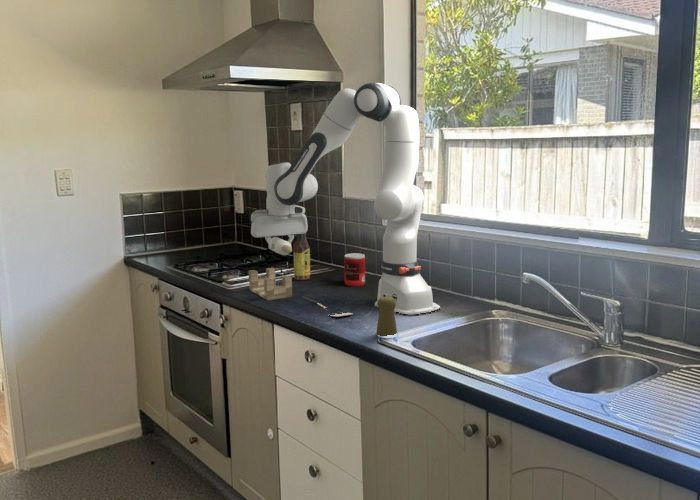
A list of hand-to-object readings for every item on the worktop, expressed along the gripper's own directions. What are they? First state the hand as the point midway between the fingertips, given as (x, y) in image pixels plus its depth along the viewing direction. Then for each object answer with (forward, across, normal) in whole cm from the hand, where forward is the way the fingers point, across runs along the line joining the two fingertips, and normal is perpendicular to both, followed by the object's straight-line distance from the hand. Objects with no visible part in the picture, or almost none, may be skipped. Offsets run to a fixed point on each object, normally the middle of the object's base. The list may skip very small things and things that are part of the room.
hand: (279, 247), depth 236 cm
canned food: (+16, +28, -4) cm, 32 cm away
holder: (+16, -4, -1) cm, 16 cm away
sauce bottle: (+16, +15, +14) cm, 26 cm away
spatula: (+16, +4, -26) cm, 31 cm away
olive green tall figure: (+15, +7, -62) cm, 64 cm away
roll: (+2, 0, 0) cm, 2 cm away
